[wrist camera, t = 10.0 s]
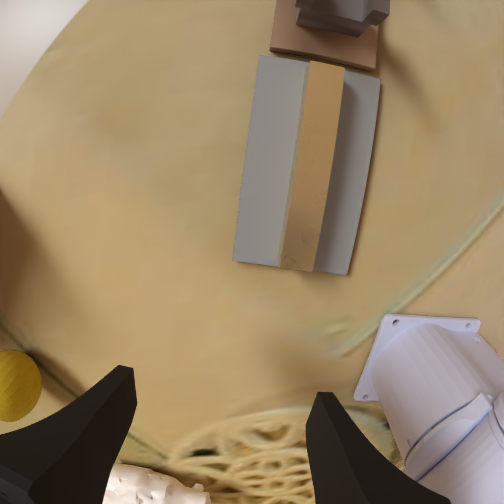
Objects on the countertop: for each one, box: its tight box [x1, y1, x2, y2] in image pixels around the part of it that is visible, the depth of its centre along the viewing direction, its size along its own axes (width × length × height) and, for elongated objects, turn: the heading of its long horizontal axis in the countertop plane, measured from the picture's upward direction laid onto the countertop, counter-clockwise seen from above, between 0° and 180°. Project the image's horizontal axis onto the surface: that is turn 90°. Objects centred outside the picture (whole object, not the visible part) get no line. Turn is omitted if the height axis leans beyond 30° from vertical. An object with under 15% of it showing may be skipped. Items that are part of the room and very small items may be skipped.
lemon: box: [0, 350, 42, 422], centre depth 19 cm, size 6×6×8 cm
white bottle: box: [102, 463, 212, 504], centre depth 24 cm, size 8×19×8 cm, turn 94°
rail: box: [278, 60, 345, 272], centre depth 16 cm, size 2×11×2 cm, turn 172°
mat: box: [232, 55, 381, 275], centre depth 18 cm, size 7×12×1 cm, turn 172°
